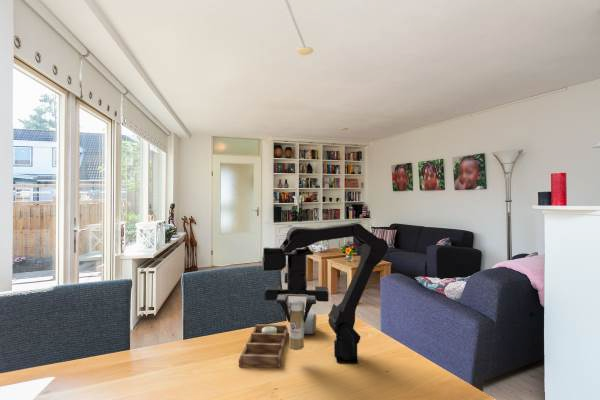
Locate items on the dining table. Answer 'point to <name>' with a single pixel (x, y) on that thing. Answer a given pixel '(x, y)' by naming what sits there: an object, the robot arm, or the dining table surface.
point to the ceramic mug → (310, 324)
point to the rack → (264, 346)
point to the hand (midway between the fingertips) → (296, 321)
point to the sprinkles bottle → (296, 324)
